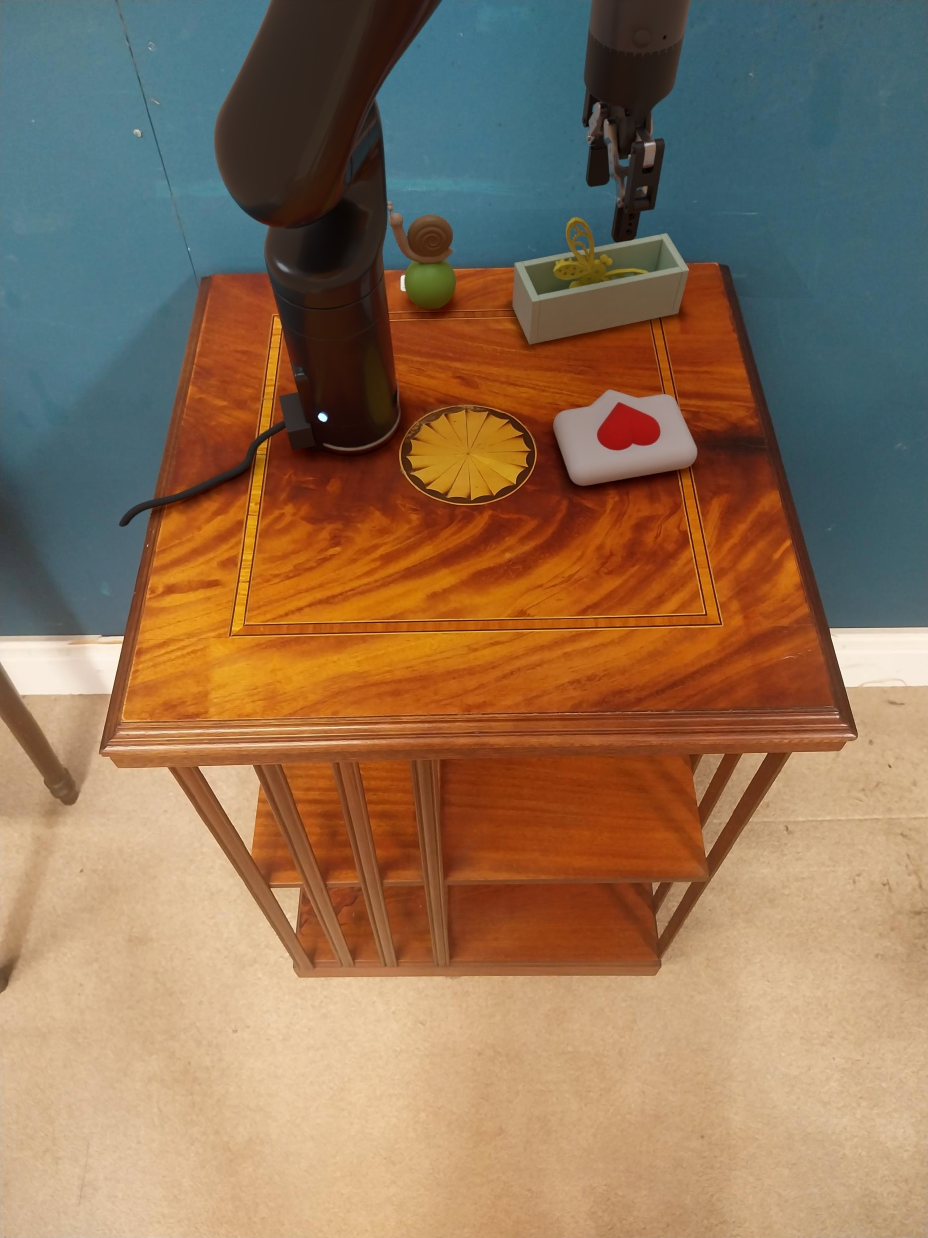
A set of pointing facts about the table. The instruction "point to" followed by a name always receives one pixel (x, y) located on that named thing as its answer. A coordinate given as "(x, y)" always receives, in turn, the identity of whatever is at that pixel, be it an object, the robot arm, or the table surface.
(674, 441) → the icon
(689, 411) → the table surface
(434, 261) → the snail figurine
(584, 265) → the decorative insect
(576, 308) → the slot tray
